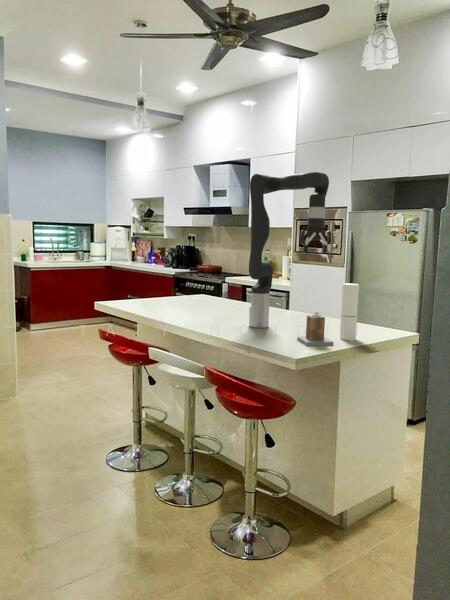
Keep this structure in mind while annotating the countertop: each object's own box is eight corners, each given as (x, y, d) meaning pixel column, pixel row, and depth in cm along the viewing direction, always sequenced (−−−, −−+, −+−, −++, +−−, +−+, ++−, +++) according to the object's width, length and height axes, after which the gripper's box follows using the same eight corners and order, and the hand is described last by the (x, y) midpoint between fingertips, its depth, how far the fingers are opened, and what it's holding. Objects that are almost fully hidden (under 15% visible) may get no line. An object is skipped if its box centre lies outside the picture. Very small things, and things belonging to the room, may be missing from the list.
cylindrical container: (353, 337, 226) (356, 283, 222) (357, 340, 219) (361, 285, 215) (337, 337, 225) (340, 283, 222) (342, 340, 218) (345, 284, 215)
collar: (310, 340, 209) (311, 317, 207) (305, 337, 215) (306, 315, 213) (323, 340, 210) (325, 317, 209) (318, 337, 216) (319, 315, 214)
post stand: (306, 345, 205) (308, 314, 204) (297, 339, 217) (298, 309, 215) (333, 345, 208) (335, 314, 206) (322, 339, 219) (324, 309, 218)
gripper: (328, 218, 225) (326, 253, 227) (298, 217, 222) (297, 253, 224) (334, 217, 218) (332, 254, 220) (304, 216, 215) (302, 253, 217)
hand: (314, 253), depth 222 cm, fingers open, 8 cm apart
